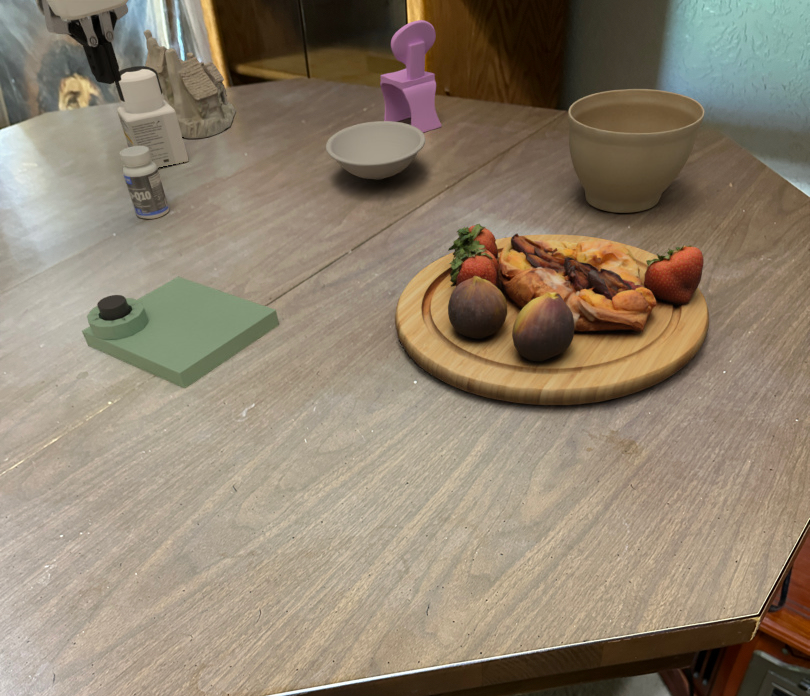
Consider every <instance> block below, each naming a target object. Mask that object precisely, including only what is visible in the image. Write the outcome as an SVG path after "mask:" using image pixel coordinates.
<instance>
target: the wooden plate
mask: <svg viewBox="0 0 810 696" xmlns="http://www.w3.org/2000/svg"><path fill="white" fill-rule="evenodd" d="M456 233H457V236H458V237H457V238H456V239H455V240H453V244H452V245H451V246H449V248H448V250H447V251H448V252H449V251H453V250H454V251H453V252H451V253H447V254H446V255H444V256H442V257H440V258H438V259H436V260H434V261H433V262H430V263H429V264H428V265H426V266H425V267H424V268H422V269H420V271H419V272H418V273H417V274H416V275H414V277H413V278H412V279H410V280H409V282H408V283H407V284H406V286H405V288H404V289H403V290H402V292H401V294H400V296H399V298H398V300H397V303H396V308H395V313H394V325H395V331H396V335H397V338H398V339H399V342H400V344H401V346H402V347H403V348H404V351H406V353H407V354H408V356H409V358H411V359H412V360H413V361H414V362H415V363H416V364H417V365H418V366H419V367H420V368H422V369H423V370H424V371H425V372H426V373H428V374H430V375H431V376H433V377H434V378H436V379H438V380H440V381H442V382H443V383H446V384H448V385H450V386H452V387H454V388H456V389H459V390H462V391H465V392H467V393H469V394H474V395H477V396H481V397H485V398H489V399H492V400H496V401H497V400H498V401H503V402H508V403H509V402H510V403H516V404H525V405H539V406H570V405H572V406H573V405H582V404H591V403H601V402H604V401H609V400H614V399H617V398H622V397H625V396H628V395H632V394H635V393H638V392H641V391H643V390H645V389H648V388H650V387H652V386H656V385H657V384H660V383H661V382H664V380H666V379H668V378H670V377H671V376H673V375H675V374H677V373H678V372H679V371H680V370H681V369H683V368H684V367H686V365H688V364H689V362H691V361H692V359H693V358H694V357H695V356H696V354H697V353H698V352H699V351H700V350H701V348H702V346H703V345H704V342H705V339H706V337H707V334H708V332H709V327H710V312H709V311H710V310H709V307H708V303H707V301H706V298H705V296H704V294H703V293H702V291H701V290H700V288H699V285H700V283H701V280H702V276H703V269H704V263H705V262H704V255H703V253H702V250H700V249H699V248H698V247H696V246H692V244H689V245H684V244H682V246H681V247H680V246H675V249H670V248H669V247H668V248H667V249H668V251H667V252H666V253H667V255H660V254H659V253H656V254H654V253H652V252H650V251H647V250H644V249H641V248H639V247H636V246H633V245H630V244H626V243H623V242H619V241H615V240H610V239H604V238H600V237H599V238H598V237H593V236H587V235H586V236H585V235H576V234H575V235H574V234H553V233H551V234H527V235H524V234H523V235H519V234H518V233H514V235H513V236H509V237H501V238H496V237H495V235H494V233H493V232H492V231H491V230H490V229H488V228H486V226H483V225H481V224H480V223H477V224H475V225H471V226H469V227H468V226H466V227H465V226H464V227H463V228H459V229H458V230H456Z"/></svg>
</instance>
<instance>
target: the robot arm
mask: <svg viewBox="0 0 810 696" xmlns="http://www.w3.org/2000/svg"><path fill="white" fill-rule="evenodd" d="M34 1H35V3H36V6H37V8H38V11H39V13H41V15H42V16H44V21H45V26H46V29H47V32H48V33H50V34H56V35H67V36H69V37H70V38H72V39H73V40H75V41H76V43H77V44H78V45H79V46H82V48H83V51H84V54H85V57H86V60H87V62H88V65H89V69H90V71H91V74H92V75H93V77H94V78H95V81H96V82H97V83H102V84H106V85H107V84H108V85H112V84H115V81H116V82H118V81H121V76H120V73H119V71H120V66H119V62H118V59H117V55H116V52H115V49H114V46H113V44H112V43H113V41H115V33H114V32H115V28H116V24H117V22H118V20H120V19H122V18H123V17H124V16H126V15H127V14H128V12H129V7H128V4H127V3H128V2H129V0H34Z"/></svg>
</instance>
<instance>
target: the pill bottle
mask: <svg viewBox="0 0 810 696" xmlns="http://www.w3.org/2000/svg"><path fill="white" fill-rule="evenodd" d="M119 157H120V160H121V163H122V166H123V167H122V176H123V178H124V181H125V184H126V187H127V190H128V193H129V196H130V199H131V202H132V206H133V208H134V211H135V214H136V216H137V217H138V218H140V219H143V220H153V219H158V218H161V217H163V216H165V215H166V214H167V213H169V211H170V206H169V203H168V199H167V197H166V193H165V189H164V185H163V182H162V179H161V175H160V171H159V169H158V168H157V166H156V164H155V163H154V162H152V161H151V160H152V158H151V154H150V151H149V148H148V147H145V146H133V147H129V146H127V147H126V148H125V147H124V148H123V149H121V150H120V151H119Z"/></svg>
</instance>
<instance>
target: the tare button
mask: <svg viewBox="0 0 810 696" xmlns="http://www.w3.org/2000/svg"><path fill="white" fill-rule="evenodd" d="M96 306H98V309H99V311H100V314H101V316H102V318H103V320H105V321H113V320H117V319H121V318H123V317H125V316H127V315H129V314H130V312H131V311H130V309H129V306H128V303H127V301H126V297H125V296H124V295H122V294H111V295H108V296H105V297H102V298H101V299H100V300H98V302H97V303H96Z"/></svg>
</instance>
